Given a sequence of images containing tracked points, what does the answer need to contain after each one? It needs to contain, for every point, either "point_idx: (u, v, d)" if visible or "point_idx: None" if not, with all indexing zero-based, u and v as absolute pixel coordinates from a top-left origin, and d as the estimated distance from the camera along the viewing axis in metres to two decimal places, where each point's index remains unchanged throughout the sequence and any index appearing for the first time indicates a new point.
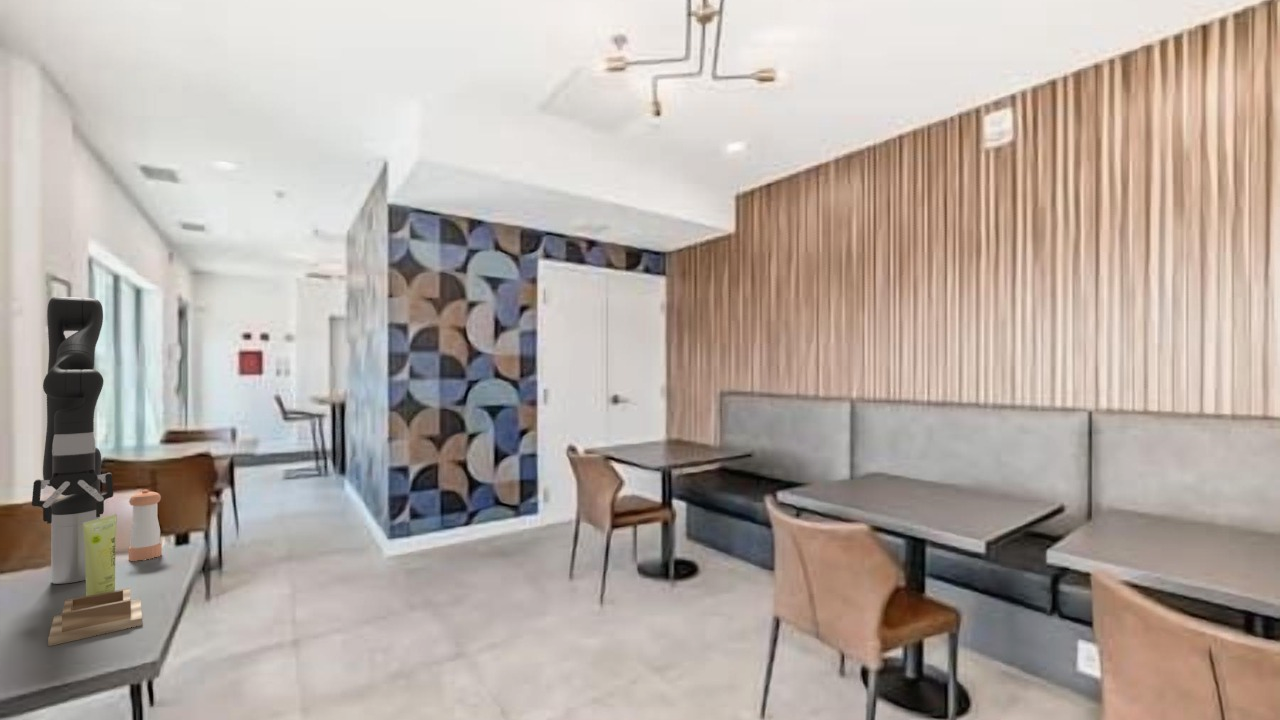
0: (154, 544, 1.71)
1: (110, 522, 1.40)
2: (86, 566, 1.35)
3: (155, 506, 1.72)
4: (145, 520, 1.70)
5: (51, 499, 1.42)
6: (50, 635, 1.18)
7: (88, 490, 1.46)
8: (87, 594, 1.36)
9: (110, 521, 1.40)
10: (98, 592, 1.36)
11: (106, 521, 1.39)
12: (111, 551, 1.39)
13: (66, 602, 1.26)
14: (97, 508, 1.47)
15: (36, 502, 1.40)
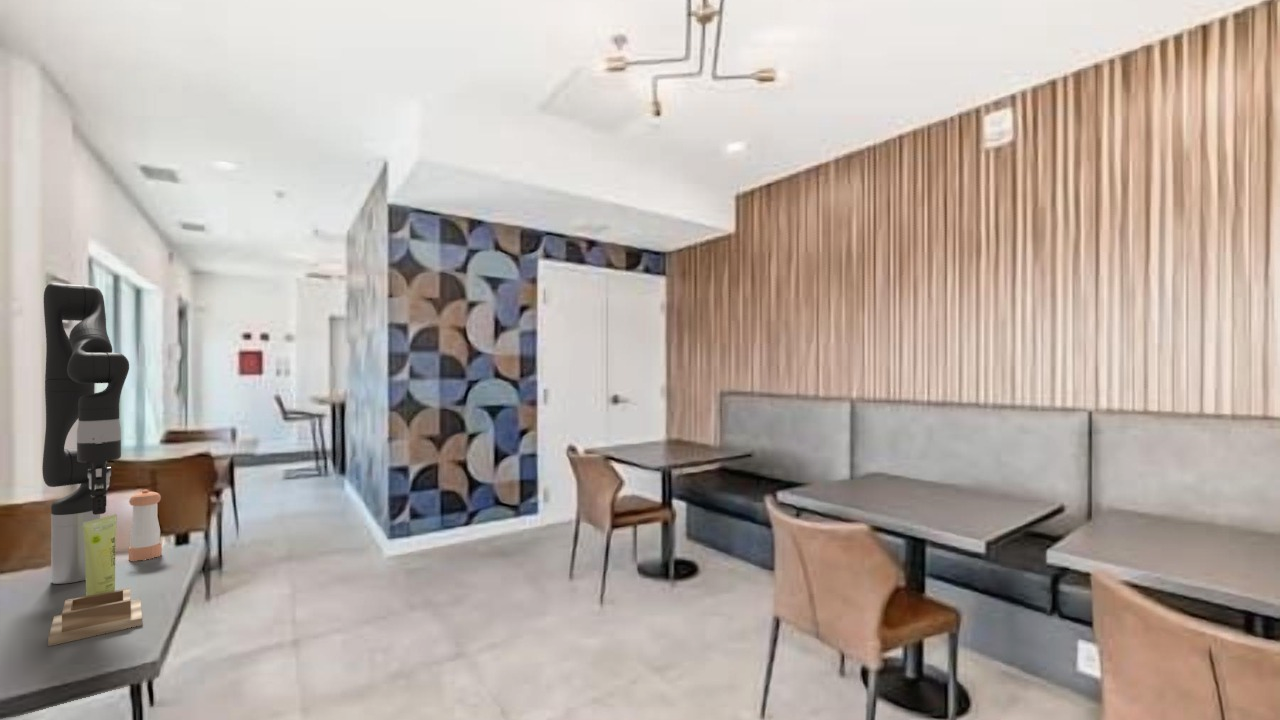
0: (154, 544, 1.71)
1: (110, 522, 1.40)
2: (86, 566, 1.35)
3: (155, 506, 1.72)
4: (145, 520, 1.70)
5: (106, 487, 1.36)
6: (50, 635, 1.18)
7: (109, 478, 1.41)
8: (87, 594, 1.36)
9: (110, 521, 1.40)
10: (98, 592, 1.36)
11: (106, 521, 1.39)
12: (111, 551, 1.39)
13: (66, 602, 1.26)
14: None
15: None
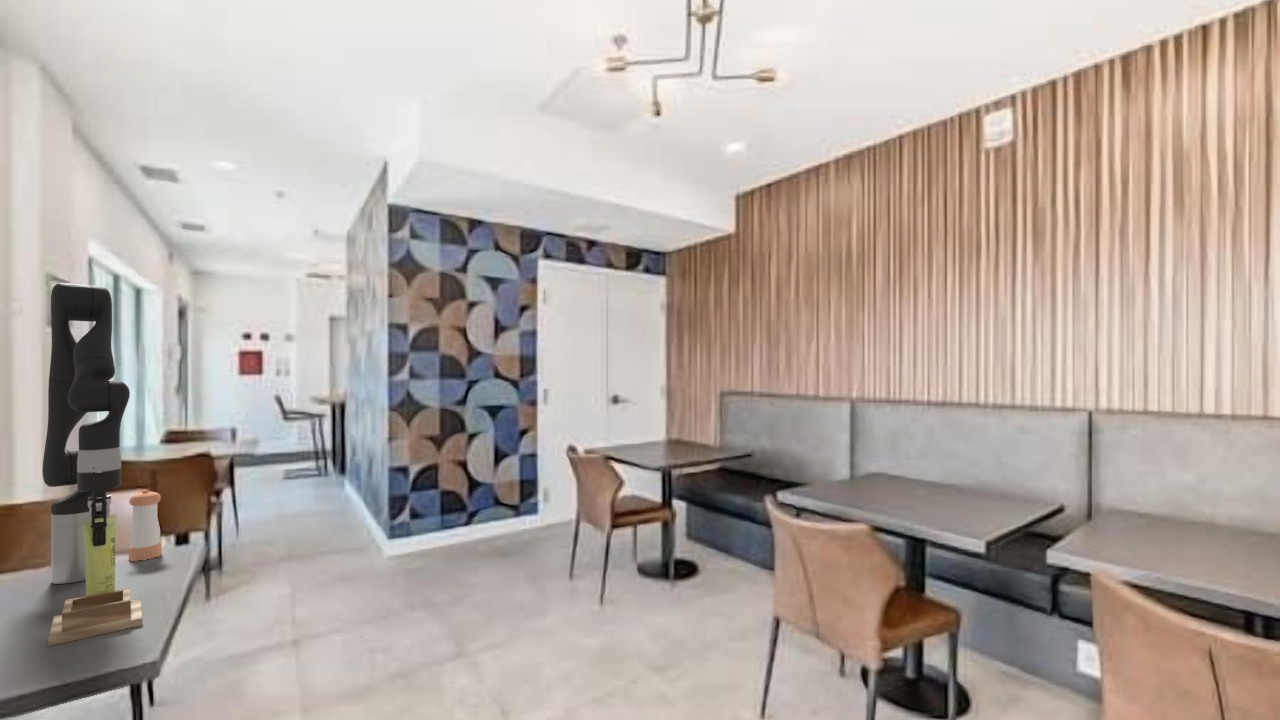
0: (154, 544, 1.71)
1: (110, 522, 1.40)
2: (86, 566, 1.35)
3: (155, 506, 1.72)
4: (145, 520, 1.70)
5: (106, 518, 1.37)
6: (50, 635, 1.18)
7: (109, 507, 1.41)
8: (87, 594, 1.36)
9: (110, 521, 1.40)
10: (98, 592, 1.36)
11: (106, 521, 1.39)
12: (111, 551, 1.39)
13: (66, 602, 1.26)
14: None
15: None
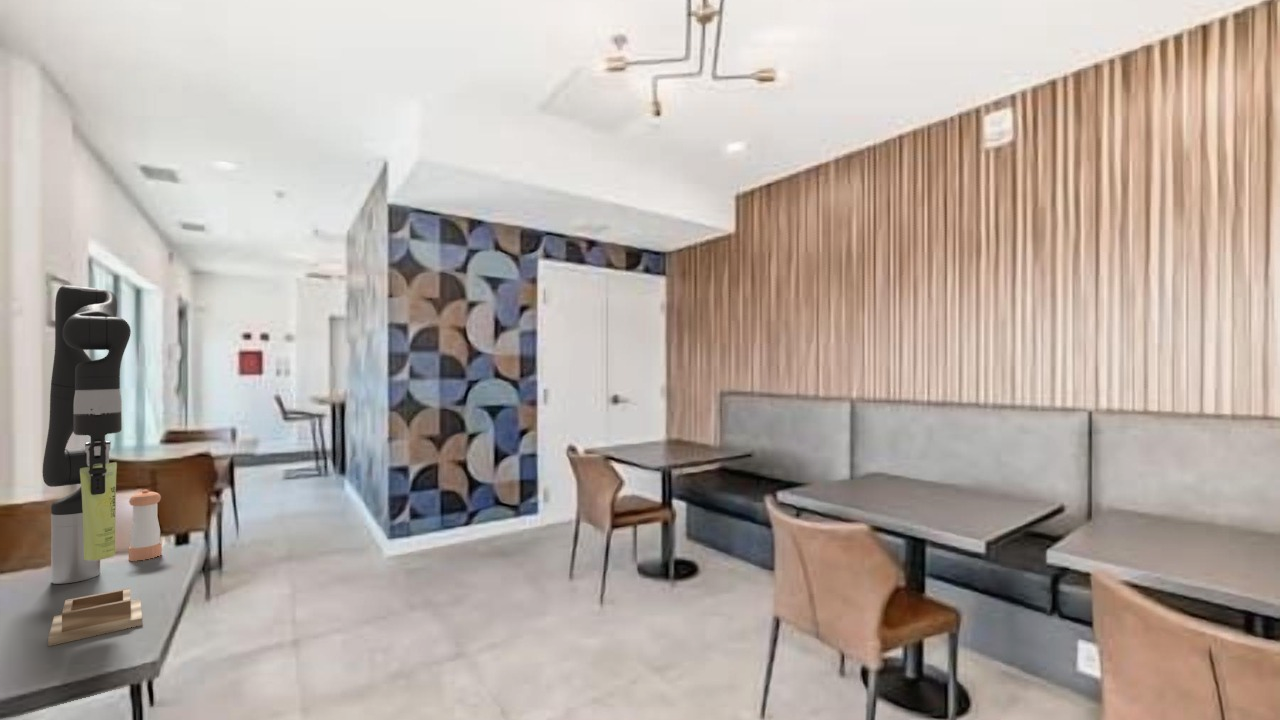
0: (154, 544, 1.71)
1: (109, 470, 1.29)
2: (84, 516, 1.24)
3: (155, 506, 1.72)
4: (145, 520, 1.70)
5: (105, 465, 1.26)
6: (50, 635, 1.18)
7: None
8: (85, 547, 1.25)
9: (110, 469, 1.29)
10: (97, 545, 1.25)
11: None
12: (111, 501, 1.28)
13: (66, 602, 1.26)
14: None
15: (105, 468, 1.24)
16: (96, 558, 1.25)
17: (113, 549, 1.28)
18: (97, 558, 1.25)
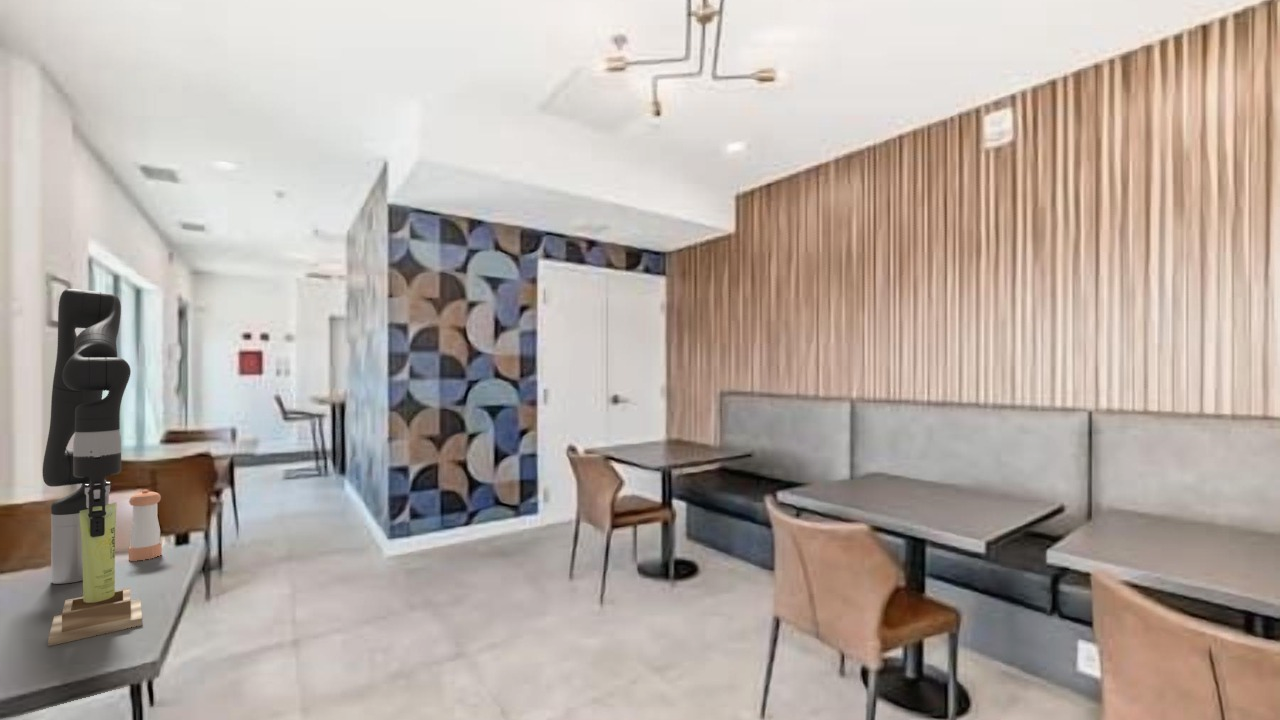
0: (154, 544, 1.71)
1: (109, 510, 1.29)
2: (83, 558, 1.24)
3: (155, 506, 1.72)
4: (145, 520, 1.70)
5: None
6: (50, 635, 1.18)
7: None
8: (85, 589, 1.24)
9: (109, 510, 1.29)
10: (96, 587, 1.25)
11: (105, 510, 1.28)
12: (110, 542, 1.28)
13: (66, 602, 1.26)
14: None
15: None
16: (95, 600, 1.25)
17: (112, 590, 1.28)
18: (96, 600, 1.25)
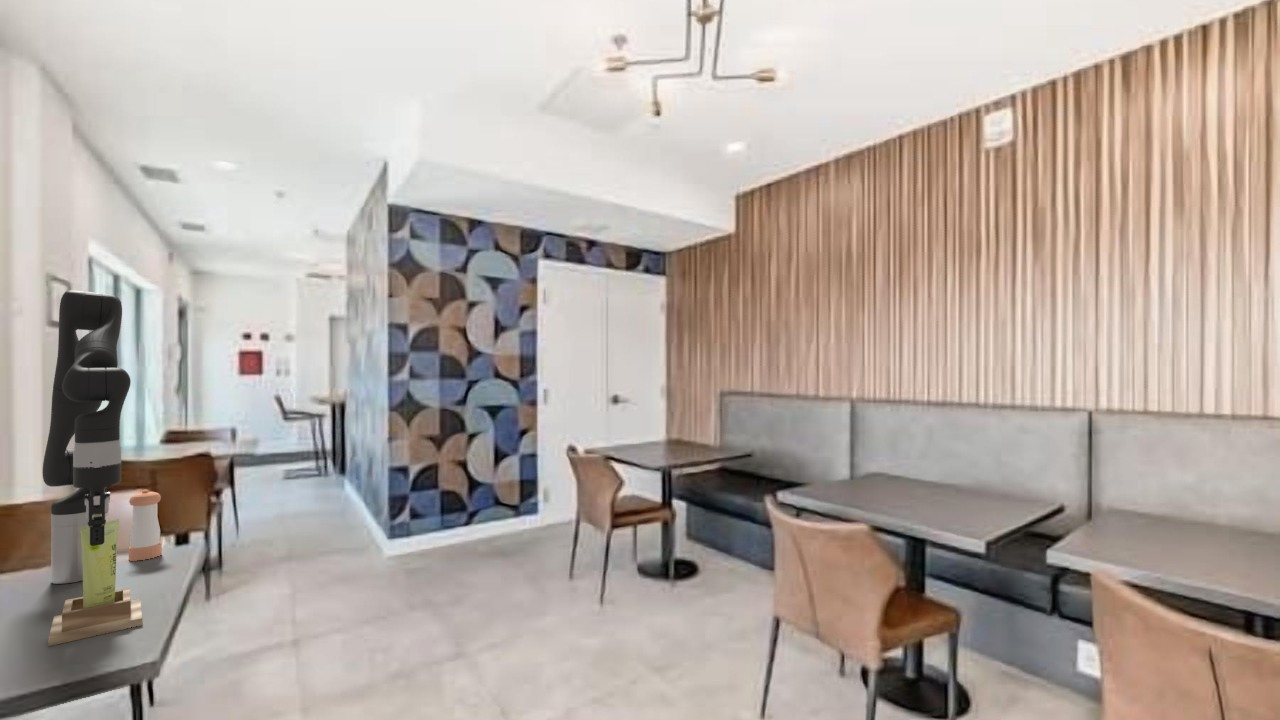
0: (154, 544, 1.71)
1: (111, 527, 1.29)
2: (83, 575, 1.25)
3: (155, 506, 1.72)
4: (145, 520, 1.70)
5: (105, 515, 1.25)
6: (50, 635, 1.18)
7: (108, 504, 1.30)
8: (84, 606, 1.25)
9: (111, 527, 1.29)
10: (95, 604, 1.25)
11: (107, 526, 1.28)
12: (111, 559, 1.28)
13: (66, 602, 1.26)
14: None
15: None
16: None
17: None
18: None
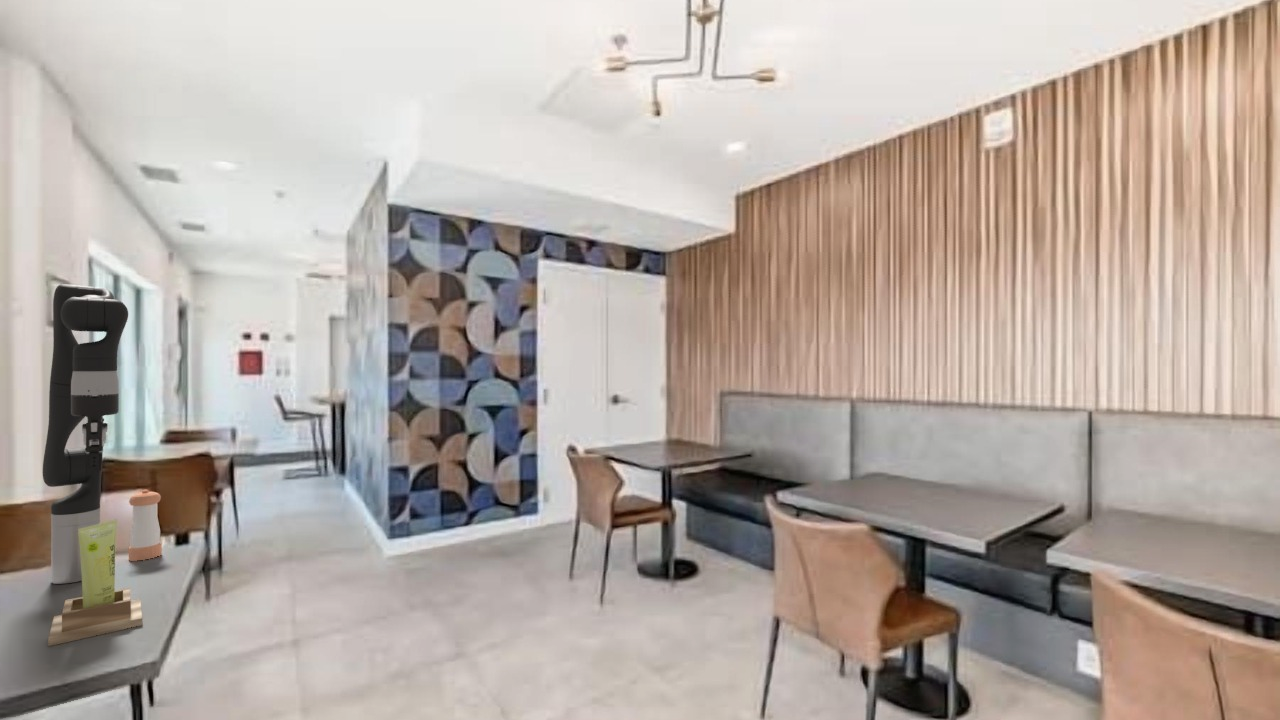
0: (154, 544, 1.71)
1: (109, 528, 1.29)
2: (82, 576, 1.24)
3: (155, 506, 1.72)
4: (145, 520, 1.70)
5: (102, 443, 1.26)
6: (50, 635, 1.18)
7: None
8: (84, 606, 1.25)
9: (109, 527, 1.29)
10: (95, 605, 1.25)
11: (105, 527, 1.28)
12: (110, 560, 1.27)
13: (66, 602, 1.26)
14: None
15: (102, 446, 1.24)
16: None
17: None
18: None
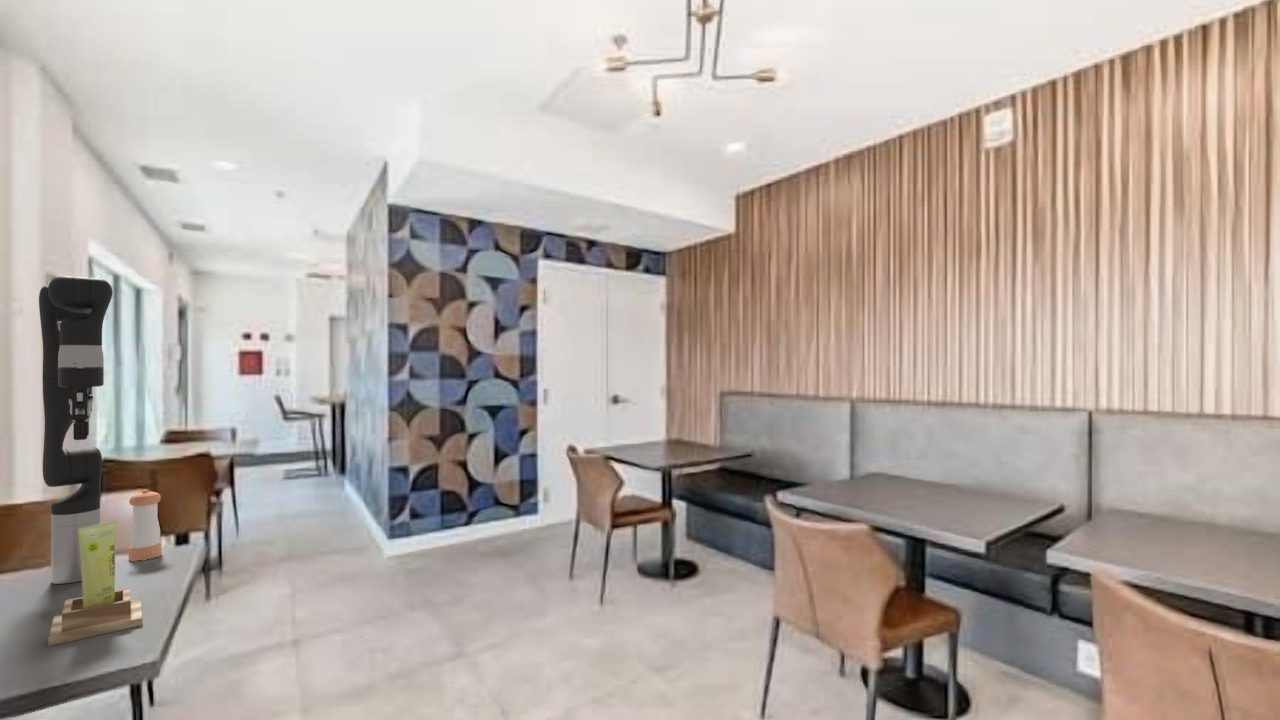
0: (154, 544, 1.71)
1: (109, 528, 1.29)
2: (82, 576, 1.24)
3: (155, 506, 1.72)
4: (145, 520, 1.70)
5: (87, 413, 1.33)
6: (50, 635, 1.18)
7: None
8: (84, 606, 1.25)
9: (109, 527, 1.29)
10: (95, 605, 1.25)
11: (105, 527, 1.28)
12: (110, 560, 1.27)
13: (66, 602, 1.26)
14: None
15: (87, 415, 1.32)
16: None
17: None
18: None
